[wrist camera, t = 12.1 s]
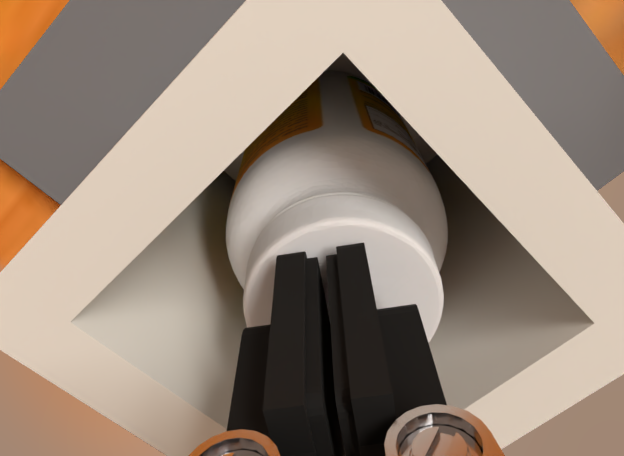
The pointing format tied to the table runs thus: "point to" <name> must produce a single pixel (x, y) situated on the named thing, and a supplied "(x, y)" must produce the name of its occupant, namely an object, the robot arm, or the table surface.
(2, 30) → the table surface
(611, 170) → the mat
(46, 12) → the table surface
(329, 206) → the supplement bottle
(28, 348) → the sleeve
